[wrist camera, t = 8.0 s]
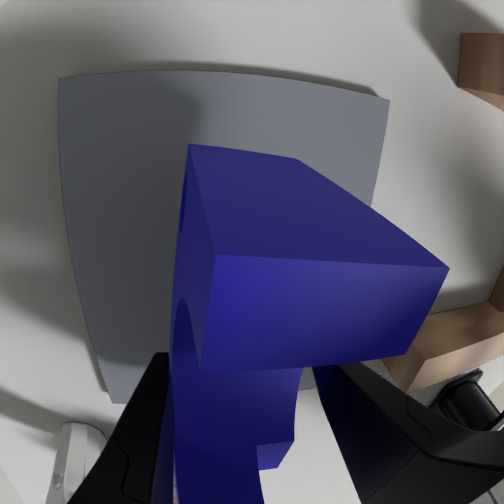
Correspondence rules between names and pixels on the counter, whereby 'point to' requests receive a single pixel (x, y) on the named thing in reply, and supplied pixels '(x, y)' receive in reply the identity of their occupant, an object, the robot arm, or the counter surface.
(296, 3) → the counter surface
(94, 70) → the counter surface
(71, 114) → the rubber mat
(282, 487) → the counter surface
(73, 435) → the milkshake
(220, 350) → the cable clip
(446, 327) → the walnut holder
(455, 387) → the robot arm
